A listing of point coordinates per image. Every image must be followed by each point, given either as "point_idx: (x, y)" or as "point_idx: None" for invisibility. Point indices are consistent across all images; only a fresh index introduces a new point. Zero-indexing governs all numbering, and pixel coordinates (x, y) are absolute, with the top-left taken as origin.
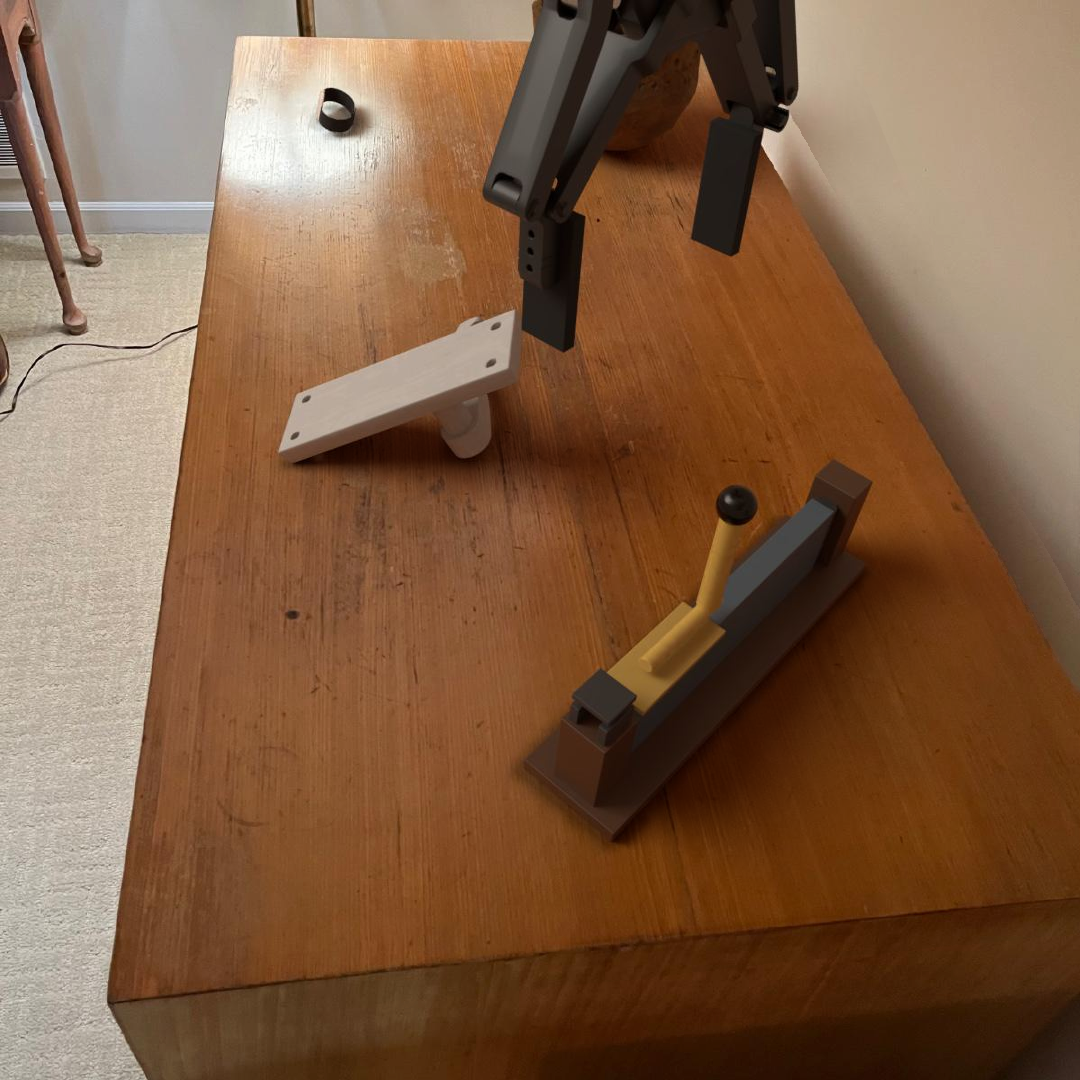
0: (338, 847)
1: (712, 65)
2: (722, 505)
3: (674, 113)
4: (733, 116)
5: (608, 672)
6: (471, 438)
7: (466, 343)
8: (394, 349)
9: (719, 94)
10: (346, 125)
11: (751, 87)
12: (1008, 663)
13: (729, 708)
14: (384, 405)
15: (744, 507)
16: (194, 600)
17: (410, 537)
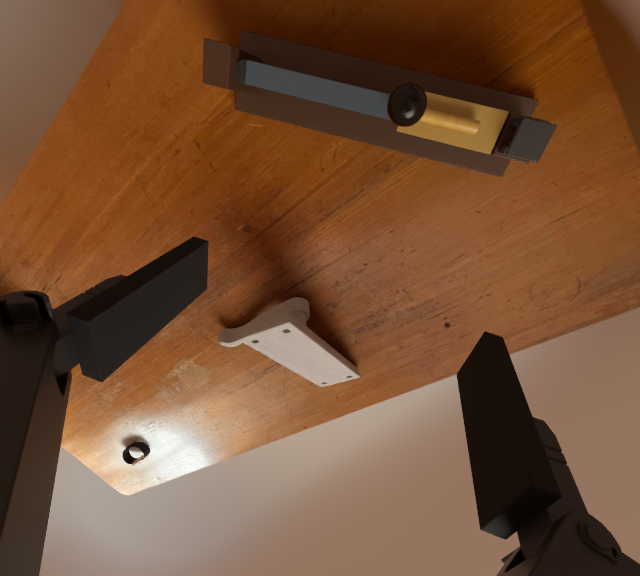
0: (582, 239)
1: (48, 485)
2: (421, 116)
3: None
4: (71, 363)
5: (481, 151)
6: (303, 307)
7: (273, 347)
8: (258, 362)
9: (64, 410)
10: (140, 444)
11: (28, 405)
12: None
13: (413, 71)
14: (326, 357)
15: (420, 92)
16: (458, 364)
17: (372, 300)
